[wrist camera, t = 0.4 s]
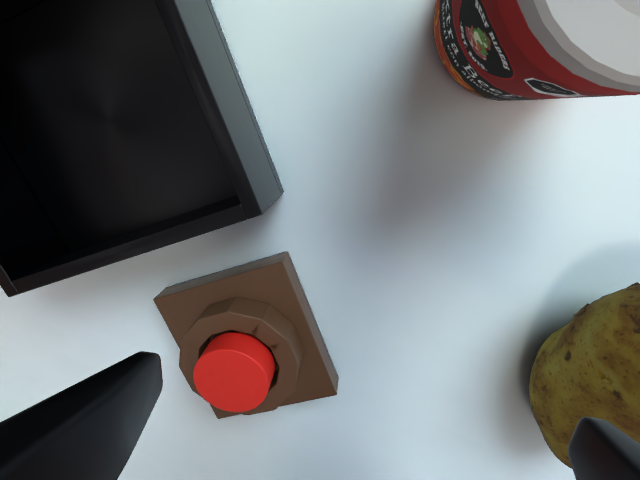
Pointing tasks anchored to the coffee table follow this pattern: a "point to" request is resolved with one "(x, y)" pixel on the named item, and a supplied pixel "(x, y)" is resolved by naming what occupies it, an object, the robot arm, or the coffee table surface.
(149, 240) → the black open box
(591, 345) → the olive green oval lump
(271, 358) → the button
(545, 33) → the canned food
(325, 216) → the coffee table surface
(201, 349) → the block
